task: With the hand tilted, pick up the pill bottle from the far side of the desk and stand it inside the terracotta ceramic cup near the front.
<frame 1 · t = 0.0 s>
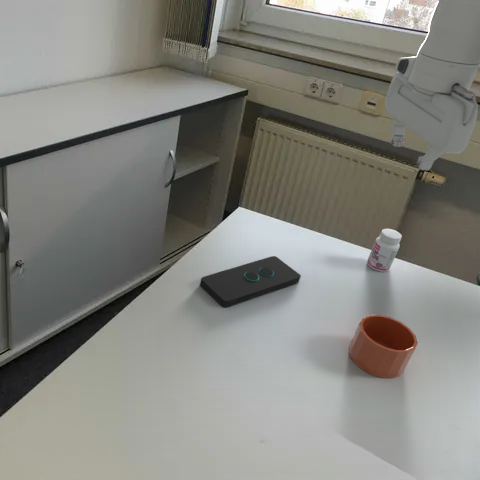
hand: (408, 156, 92), 30 cm above the table, tool pointing down, fingers open, 8 cm apart
smart home device: (249, 284, 108), on the table
terracotta cup: (375, 358, 93), on the table
pill bottle: (377, 266, 118), on the table
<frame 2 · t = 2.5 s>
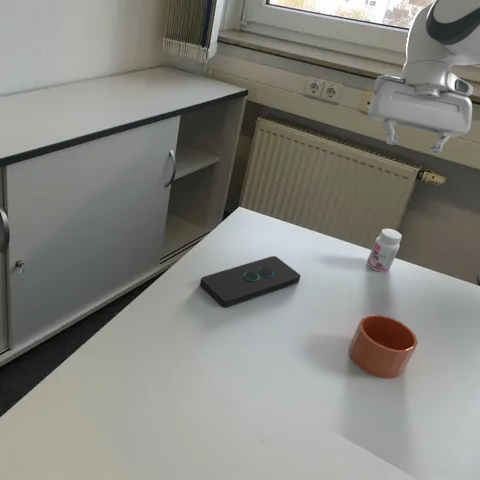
hand: (413, 148, 111), 24 cm above the table, tool tilted 35°, fingers open, 8 cm apart
nothing on the table moved.
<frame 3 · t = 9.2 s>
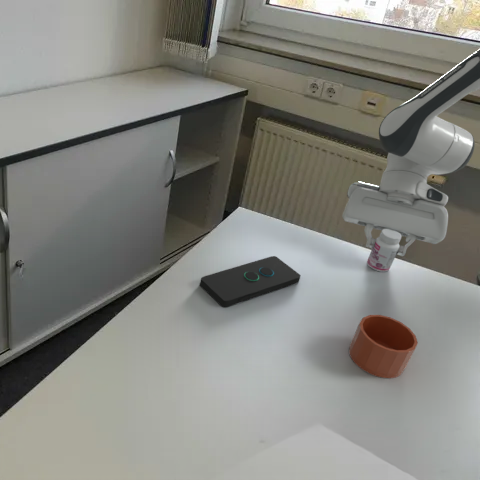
hand: (385, 250, 115), 4 cm above the table, tool tilted 45°, fingers closed on pill bottle, 5 cm apart
pill bottle: (377, 266, 118), on the table, touching gripper
everything else where it was.
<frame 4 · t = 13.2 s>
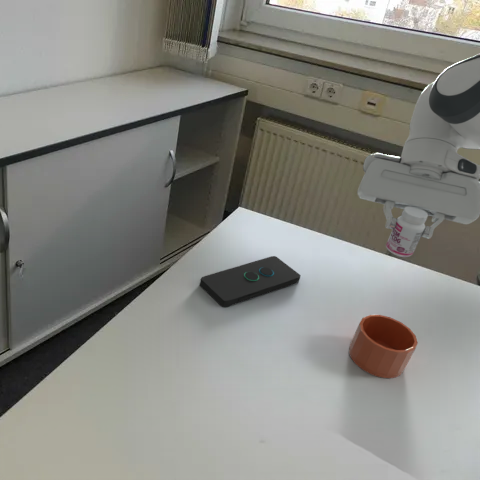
hand: (407, 232, 98), 16 cm above the table, tool tilted 45°, fingers closed on pill bottle, 5 cm apart
pill bottle: (398, 251, 101), point 12 cm above the table, touching gripper
everything else where it was.
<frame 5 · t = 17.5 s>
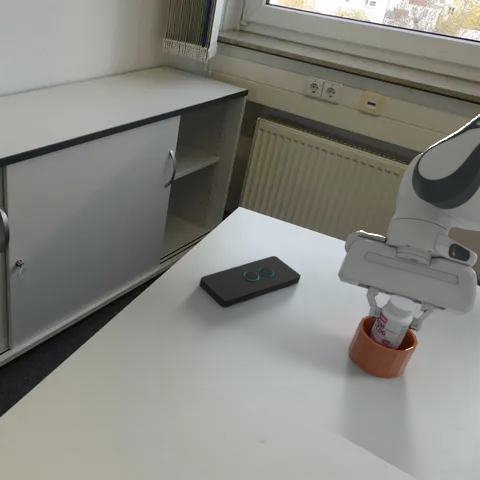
hand: (393, 323, 88), 9 cm above the table, tool tilted 45°, fingers closed on pill bottle, 5 cm apart
pill bottle: (383, 341, 91), point 4 cm above the table, touching gripper
everything else where it was.
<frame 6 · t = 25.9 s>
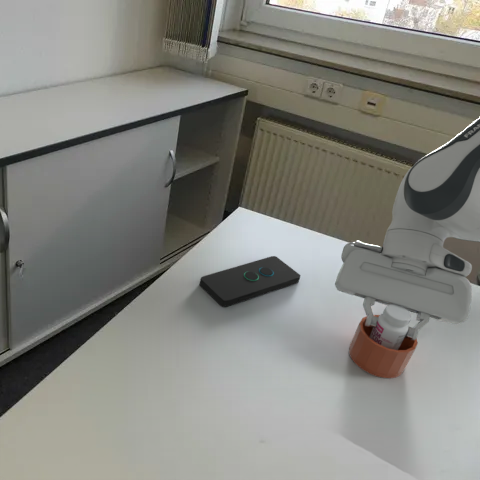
hand: (389, 332, 89), 6 cm above the table, tool tilted 45°, fingers closed on pill bottle, 5 cm apart
pill bottle: (380, 350, 92), point 2 cm above the table, touching gripper
everything else where it was.
when the fingers open (7 cm above the table, at t = 29.6 s): pill bottle drops 2 cm, resting on terracotta cup.
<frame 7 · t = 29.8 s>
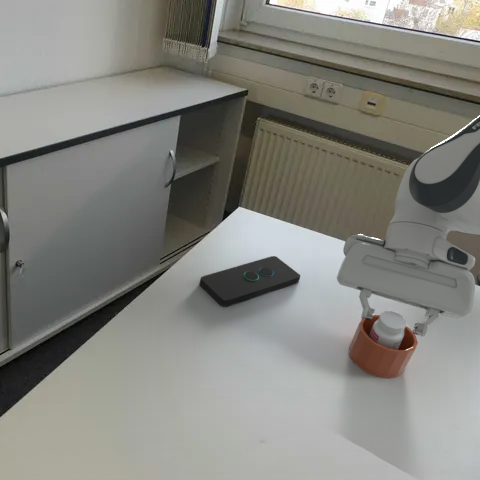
hand: (392, 326, 88), 8 cm above the table, tool tilted 45°, fingers open, 7 cm apart
pill bottle: (378, 354, 93), point 1 cm above the table, touching terracotta cup
everything else where it was.
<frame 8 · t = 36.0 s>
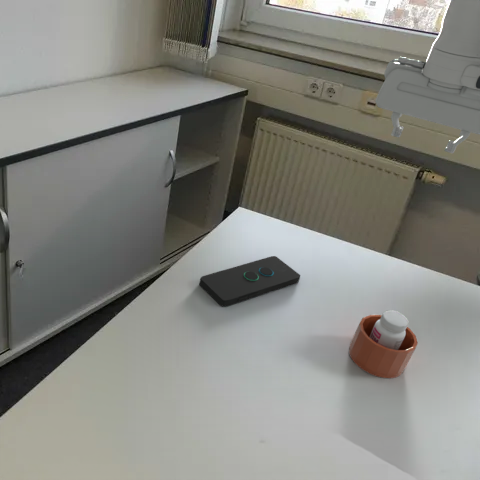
hand: (421, 143, 100), 29 cm above the table, tool pointing down, fingers open, 8 cm apart
at the end: pill bottle 0.1 cm off-centre in the terracotta cup, point 0.6 cm above the terracotta cup's base; pill bottle tilted 0°; the gripper is holding nothing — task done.
